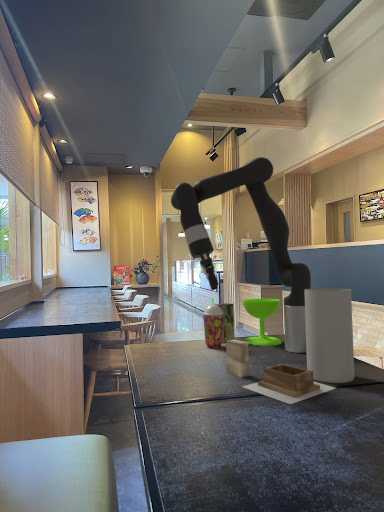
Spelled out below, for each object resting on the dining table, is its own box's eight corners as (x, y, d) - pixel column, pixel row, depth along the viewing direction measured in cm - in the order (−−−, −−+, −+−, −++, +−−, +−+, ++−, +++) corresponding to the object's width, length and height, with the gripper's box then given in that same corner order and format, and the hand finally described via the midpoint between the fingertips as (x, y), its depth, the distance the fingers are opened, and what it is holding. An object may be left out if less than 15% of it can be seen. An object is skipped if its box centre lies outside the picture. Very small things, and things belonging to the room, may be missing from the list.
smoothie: (200, 346, 149) (199, 297, 150) (217, 344, 153) (216, 296, 153) (209, 349, 142) (208, 298, 142) (227, 347, 145) (226, 297, 146)
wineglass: (253, 347, 145) (252, 302, 146) (237, 340, 160) (236, 299, 161) (288, 344, 150) (287, 300, 150) (270, 337, 165) (268, 298, 166)
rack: (283, 378, 101) (282, 362, 101) (320, 389, 92) (319, 371, 92) (257, 385, 96) (257, 368, 96) (294, 397, 86) (294, 378, 86)
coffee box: (222, 338, 166) (222, 303, 167) (235, 339, 162) (234, 303, 163) (211, 341, 159) (210, 304, 159) (224, 342, 155) (223, 305, 156)
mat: (286, 375, 105) (286, 374, 105) (336, 389, 92) (336, 387, 92) (241, 388, 95) (241, 386, 95) (290, 405, 82) (290, 404, 82)
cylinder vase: (359, 385, 95) (355, 290, 96) (310, 383, 97) (307, 291, 98) (349, 372, 107) (345, 288, 108) (305, 370, 110) (302, 288, 111)
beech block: (235, 372, 110) (234, 339, 110) (249, 377, 105) (248, 342, 105) (227, 374, 108) (226, 340, 108) (241, 379, 103) (240, 343, 103)
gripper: (209, 231, 111) (227, 281, 108) (209, 242, 125) (225, 286, 122) (186, 239, 111) (203, 289, 108) (188, 249, 125) (204, 294, 122)
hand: (215, 287), depth 115 cm, fingers open, 8 cm apart
